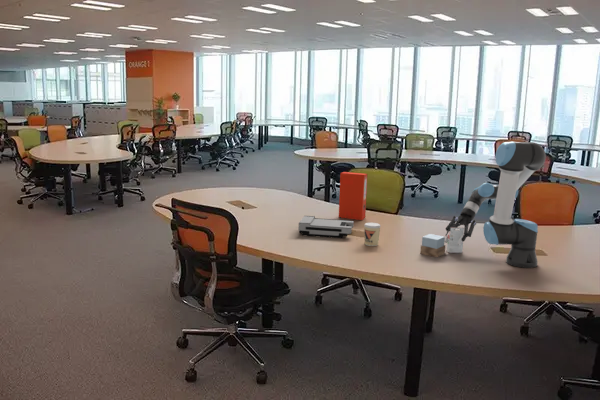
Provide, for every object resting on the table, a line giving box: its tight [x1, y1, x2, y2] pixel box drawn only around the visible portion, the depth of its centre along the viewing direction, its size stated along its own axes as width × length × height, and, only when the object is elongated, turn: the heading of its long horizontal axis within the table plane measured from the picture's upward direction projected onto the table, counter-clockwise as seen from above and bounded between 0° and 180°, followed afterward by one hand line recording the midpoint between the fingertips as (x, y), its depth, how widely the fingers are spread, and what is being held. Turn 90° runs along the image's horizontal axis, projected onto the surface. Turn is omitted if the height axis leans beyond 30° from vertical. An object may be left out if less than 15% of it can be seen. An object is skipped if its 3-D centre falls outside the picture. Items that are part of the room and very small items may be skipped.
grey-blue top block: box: [421, 233, 446, 249], centre depth 286 cm, size 9×9×5 cm
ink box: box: [446, 227, 464, 254], centre depth 290 cm, size 4×8×15 cm, turn 89°
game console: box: [298, 215, 355, 239], centre depth 325 cm, size 21×32×8 cm, turn 80°
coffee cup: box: [363, 222, 381, 247], centre depth 302 cm, size 9×9×12 cm
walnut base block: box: [419, 244, 446, 258], centre depth 287 cm, size 10×10×5 cm
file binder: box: [338, 171, 368, 221], centre depth 365 cm, size 8×17×32 cm, turn 65°
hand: (451, 243), depth 288 cm, fingers closed on ink box, 8 cm apart
